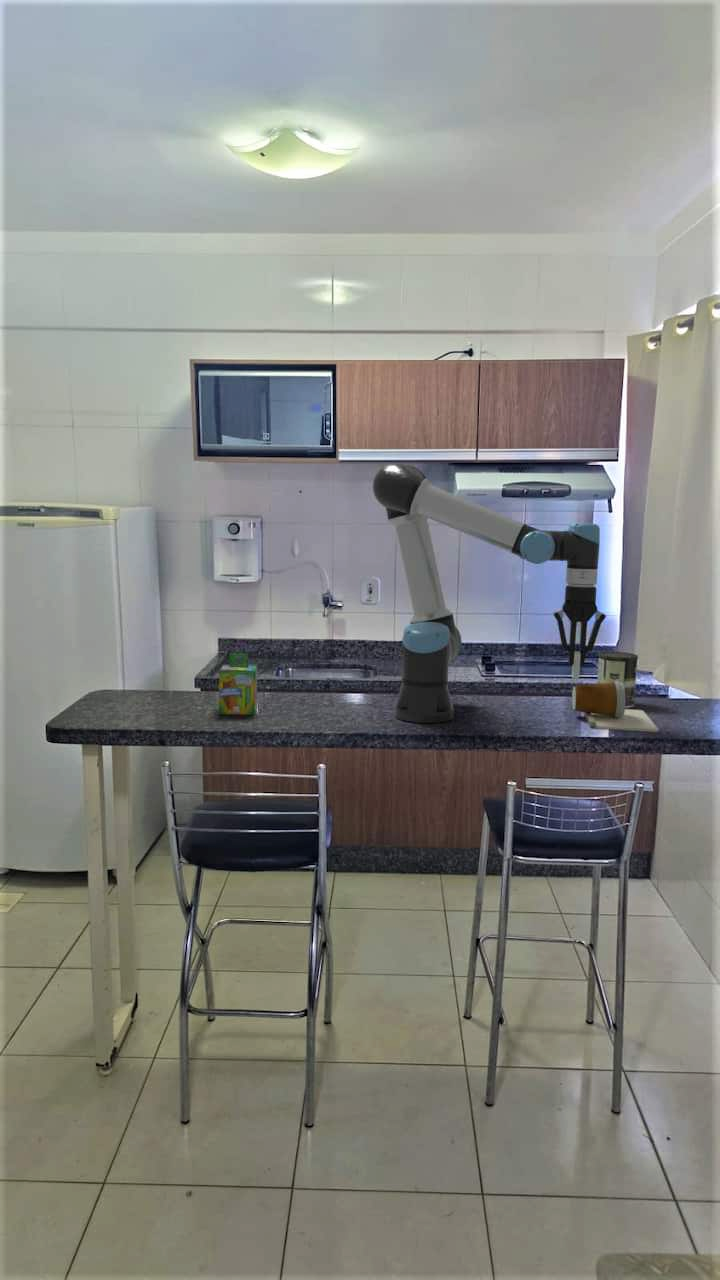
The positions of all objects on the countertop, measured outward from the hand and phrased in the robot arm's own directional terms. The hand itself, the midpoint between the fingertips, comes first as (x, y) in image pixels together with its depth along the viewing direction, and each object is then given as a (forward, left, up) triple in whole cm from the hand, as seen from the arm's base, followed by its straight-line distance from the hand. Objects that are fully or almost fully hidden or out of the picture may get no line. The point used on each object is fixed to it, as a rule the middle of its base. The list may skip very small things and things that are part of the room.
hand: (575, 677), depth 204 cm
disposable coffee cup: (0, 0, -6) cm, 6 cm away
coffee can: (+13, +18, -11) cm, 25 cm away
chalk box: (-85, -14, -11) cm, 87 cm away
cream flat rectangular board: (+11, 0, -11) cm, 15 cm away
